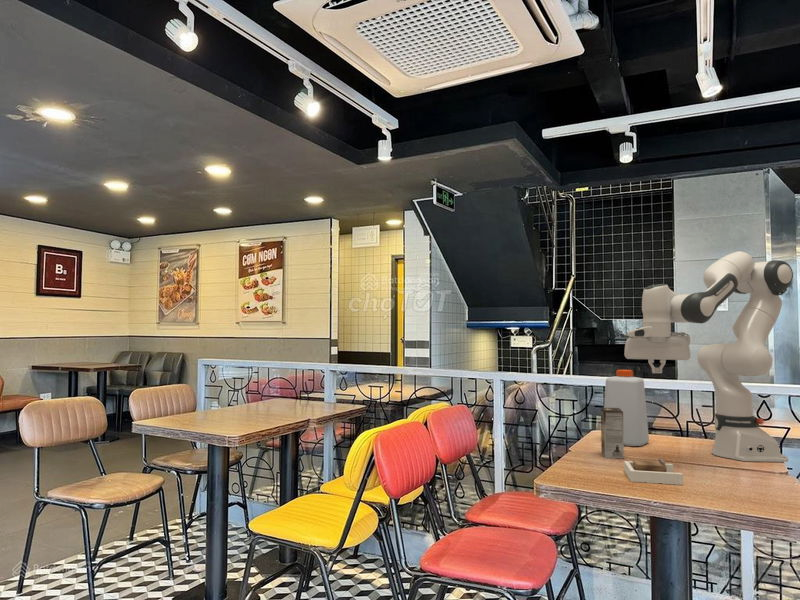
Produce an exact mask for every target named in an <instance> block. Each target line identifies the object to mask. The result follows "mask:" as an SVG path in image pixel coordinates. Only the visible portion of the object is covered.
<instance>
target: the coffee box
mask: <svg viewBox="0 0 800 600" xmlns="http://www.w3.org/2000/svg"><path fill="white" fill-rule="evenodd" d="M600 433H601V434H600V437H601V441H600V442H601V443H600V444H601V445H600V447H601V451H600V452H601V454H602V456H603V457H604V458H605V459H613V458H619V460H624V456H625V455H624V446H623V411H622V410H621V409H620V408H604V407H600ZM620 458H621V459H620Z"/></svg>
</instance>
